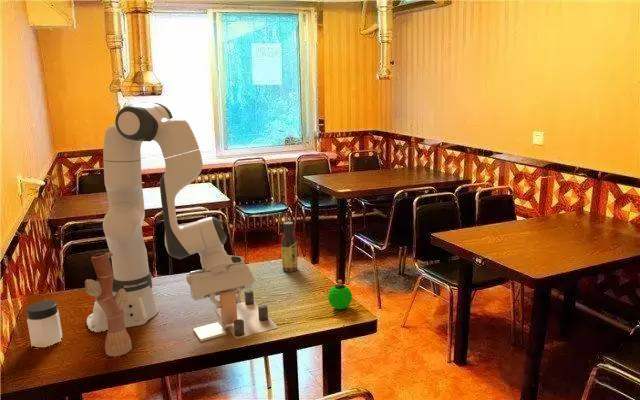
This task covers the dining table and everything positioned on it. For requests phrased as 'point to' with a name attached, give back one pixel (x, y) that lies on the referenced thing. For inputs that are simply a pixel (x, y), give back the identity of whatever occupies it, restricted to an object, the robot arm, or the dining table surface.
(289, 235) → the sauce bottle
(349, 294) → the ornament
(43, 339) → the jar
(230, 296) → the tan cylinder block
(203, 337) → the mat
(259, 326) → the post board
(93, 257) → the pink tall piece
